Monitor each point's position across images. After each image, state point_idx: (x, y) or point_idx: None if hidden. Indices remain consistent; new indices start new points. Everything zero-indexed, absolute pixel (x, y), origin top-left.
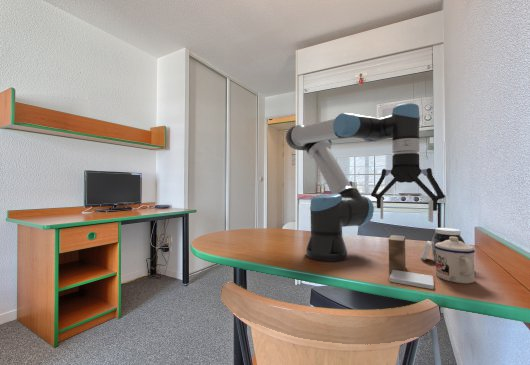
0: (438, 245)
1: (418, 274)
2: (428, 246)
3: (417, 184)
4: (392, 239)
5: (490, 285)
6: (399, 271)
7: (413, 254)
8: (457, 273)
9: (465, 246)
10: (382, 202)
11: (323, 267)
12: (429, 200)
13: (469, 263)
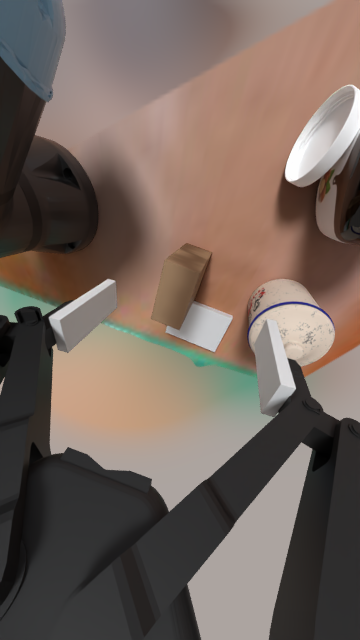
0: (250, 341)
1: (211, 315)
2: (313, 177)
3: (209, 479)
4: (158, 320)
5: None
6: None
7: (304, 58)
8: None
9: (300, 361)
10: (76, 342)
11: (78, 284)
12: (267, 402)
13: None
